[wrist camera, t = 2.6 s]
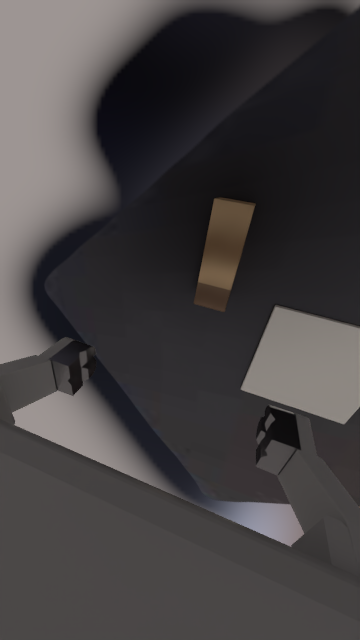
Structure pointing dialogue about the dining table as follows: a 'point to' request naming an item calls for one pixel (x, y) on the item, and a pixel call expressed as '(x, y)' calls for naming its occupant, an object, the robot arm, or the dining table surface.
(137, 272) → the dining table surface
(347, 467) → the dining table surface
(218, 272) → the wooden block
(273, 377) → the mat
